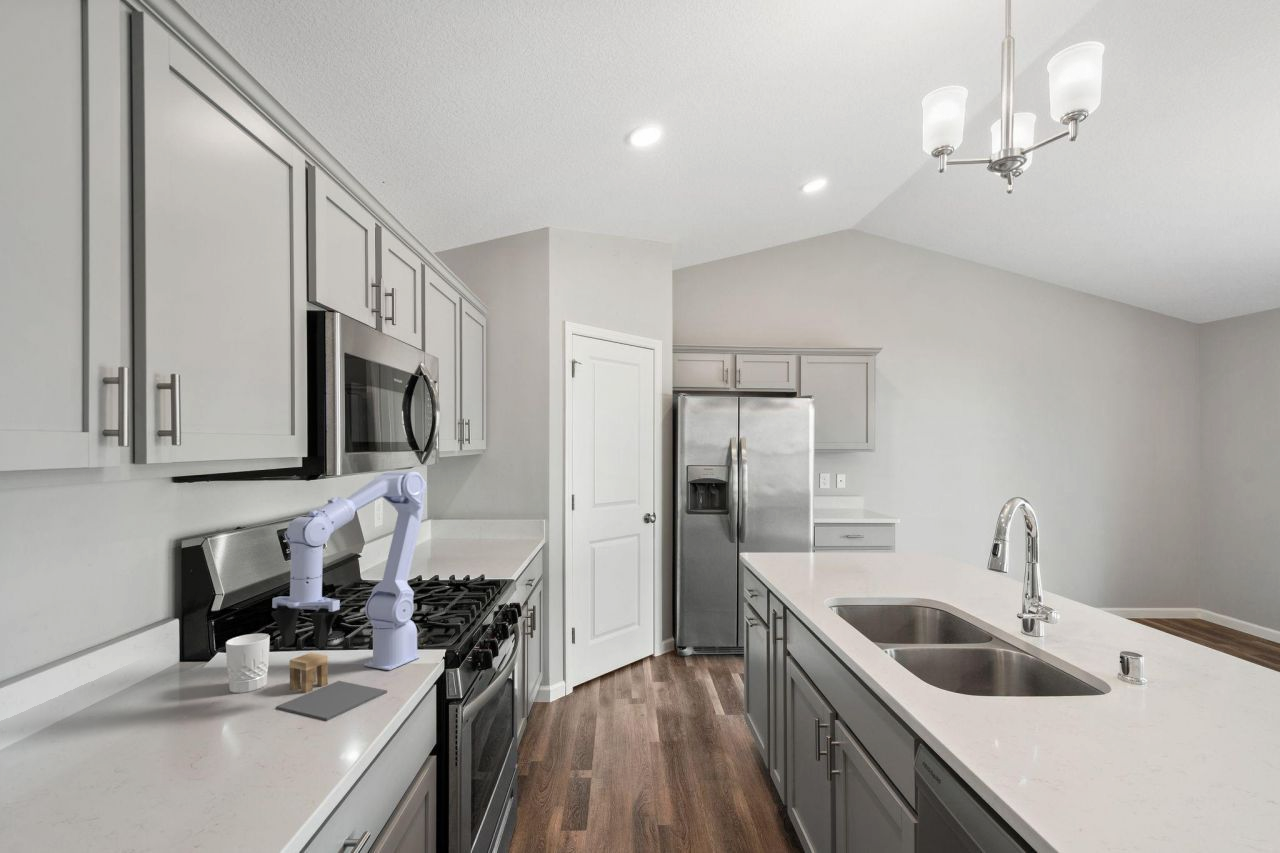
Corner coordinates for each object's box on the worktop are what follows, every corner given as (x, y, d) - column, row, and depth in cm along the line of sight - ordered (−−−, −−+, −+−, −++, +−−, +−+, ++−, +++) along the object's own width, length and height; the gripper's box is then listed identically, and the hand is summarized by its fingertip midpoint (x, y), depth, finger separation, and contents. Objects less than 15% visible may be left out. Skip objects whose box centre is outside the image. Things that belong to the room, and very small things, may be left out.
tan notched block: (311, 680, 135) (311, 652, 136) (327, 684, 133) (327, 655, 133) (289, 689, 131) (289, 660, 131) (306, 692, 129) (305, 663, 129)
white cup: (278, 680, 136) (278, 633, 136) (252, 694, 128) (252, 645, 129) (244, 679, 137) (244, 633, 137) (216, 694, 129) (216, 644, 129)
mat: (338, 682, 134) (338, 680, 134) (387, 692, 128) (387, 690, 128) (276, 708, 121) (276, 706, 121) (326, 720, 115) (326, 718, 115)
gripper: (260, 578, 125) (258, 648, 125) (322, 582, 122) (320, 653, 121) (288, 572, 132) (286, 639, 131) (347, 575, 129) (346, 643, 128)
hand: (304, 645), depth 127 cm, fingers open, 7 cm apart
